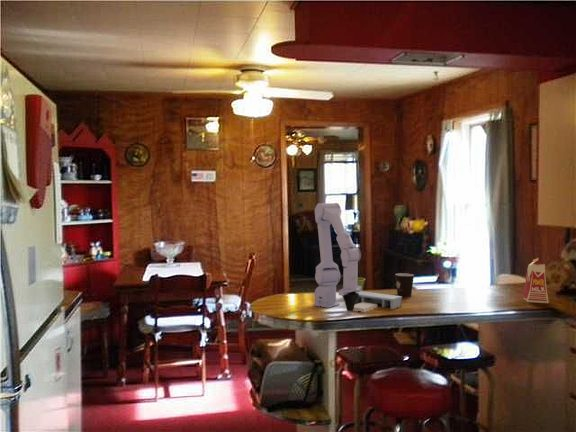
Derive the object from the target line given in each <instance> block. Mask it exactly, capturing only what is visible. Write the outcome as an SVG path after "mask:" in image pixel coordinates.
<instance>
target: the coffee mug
mask: <svg viewBox="0 0 576 432" xmlns="http://www.w3.org/2000/svg"><path fill="white" fill-rule="evenodd" d="M394 275H395V276H394V279H393V280H394V283H395V285H396V293H397V295H396V296H402V298H411V296H412V292H413V286H414V276H415V275H414V274H412V273H402V272H400V273H399V272H398V273H395V274H394Z"/></svg>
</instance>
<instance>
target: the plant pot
mask: <svg viewBox="0 0 576 432" xmlns="http://www.w3.org/2000/svg"><path fill="white" fill-rule="evenodd" d="M365 281H366V278H364V277H358V281H357V286H361V291H364V289H363V288H364V284H365ZM357 292H360V291H357ZM355 293H356V292H355Z"/></svg>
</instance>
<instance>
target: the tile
mask: <svg viewBox="0 0 576 432" xmlns="http://www.w3.org/2000/svg"><path fill="white" fill-rule="evenodd" d="M374 308H375V309H377V308H378V303H371V302H370V303H366V302H362V301H361V302H357V303H355V305H354V309H353V310H354V311H353V312H358V311H361V312H360V313H366V312H369V311H371V310H375V309H374Z"/></svg>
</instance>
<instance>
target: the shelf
mask: <svg viewBox="0 0 576 432" xmlns="http://www.w3.org/2000/svg"><path fill="white" fill-rule="evenodd" d="M356 293H359V296H358V297H357V299H356V302H355V304H358V303H361V302H366V303H373V304H377V305H379V304H380V305H381V308H386V306H387V307H389V306H390V309H391V310H394V309H397V307H398V308H400V307H402V304H403V303H402V302H403V299H402V298H403V297H402V296H397V295H393V294H387V293H385V294H384V293H378V292H371V291H370V292H369V291H364V290H363V291H360V292H356Z"/></svg>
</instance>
